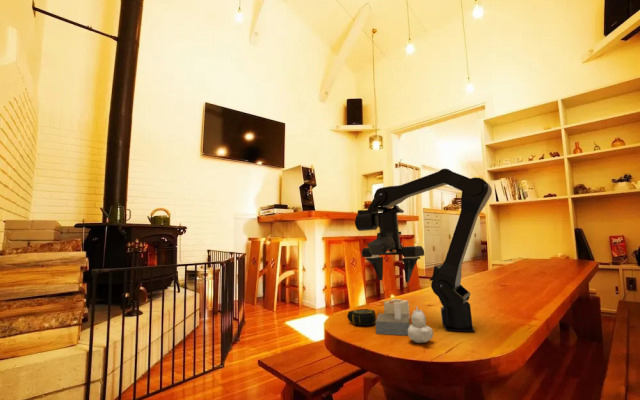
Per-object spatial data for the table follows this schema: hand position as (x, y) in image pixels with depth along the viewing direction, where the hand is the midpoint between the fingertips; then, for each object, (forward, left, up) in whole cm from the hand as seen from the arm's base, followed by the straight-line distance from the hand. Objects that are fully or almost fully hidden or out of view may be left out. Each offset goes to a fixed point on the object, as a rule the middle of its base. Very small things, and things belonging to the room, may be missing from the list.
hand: (393, 281), depth 84 cm
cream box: (0, 0, -11) cm, 11 cm away
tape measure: (+9, +5, -11) cm, 16 cm away
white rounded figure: (-6, +18, -11) cm, 22 cm away
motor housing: (0, +10, -11) cm, 15 cm away
